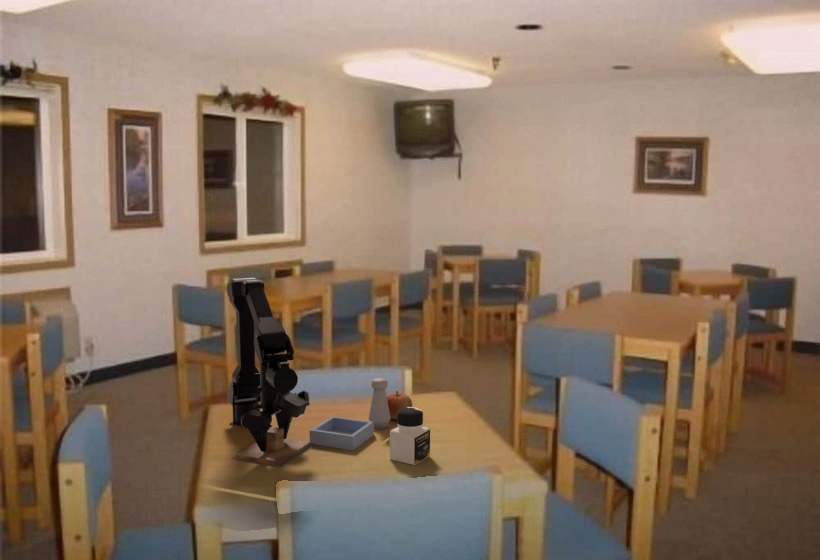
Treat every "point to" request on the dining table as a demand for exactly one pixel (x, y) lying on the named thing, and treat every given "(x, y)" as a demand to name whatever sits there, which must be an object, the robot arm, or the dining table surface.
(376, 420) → the salt shaker
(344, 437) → the blue-grey open box
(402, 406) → the apple
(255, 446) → the lid
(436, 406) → the dining table surface
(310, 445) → the mat
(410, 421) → the medicine bottle
